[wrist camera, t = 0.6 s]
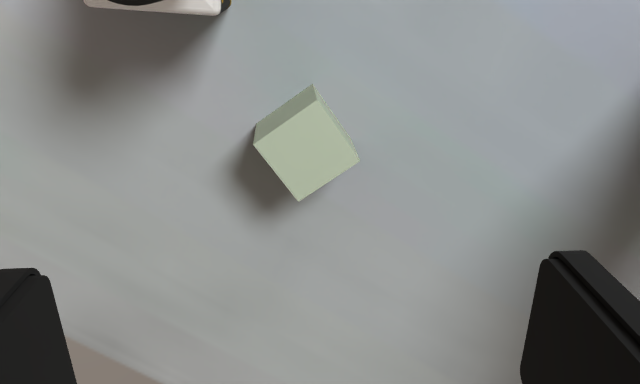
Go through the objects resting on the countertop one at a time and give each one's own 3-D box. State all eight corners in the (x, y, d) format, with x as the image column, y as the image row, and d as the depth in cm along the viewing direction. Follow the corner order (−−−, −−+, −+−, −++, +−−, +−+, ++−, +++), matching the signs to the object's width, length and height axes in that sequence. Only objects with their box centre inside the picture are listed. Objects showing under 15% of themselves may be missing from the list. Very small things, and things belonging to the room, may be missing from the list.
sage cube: (312, 83, 36) (317, 99, 32) (350, 138, 38) (360, 160, 33) (256, 123, 37) (253, 144, 32) (296, 174, 39) (298, 201, 34)
